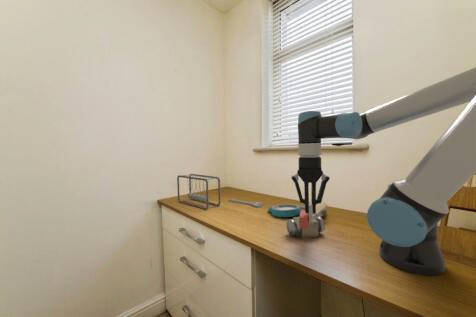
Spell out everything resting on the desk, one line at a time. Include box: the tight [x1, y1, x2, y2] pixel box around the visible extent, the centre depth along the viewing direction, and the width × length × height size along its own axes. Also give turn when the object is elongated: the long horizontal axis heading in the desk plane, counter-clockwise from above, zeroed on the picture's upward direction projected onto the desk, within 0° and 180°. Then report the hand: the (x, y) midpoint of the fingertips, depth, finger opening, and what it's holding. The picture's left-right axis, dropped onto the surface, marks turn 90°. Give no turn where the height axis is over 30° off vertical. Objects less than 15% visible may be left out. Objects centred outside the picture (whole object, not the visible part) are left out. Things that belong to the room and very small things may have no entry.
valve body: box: [285, 216, 326, 240], centre depth 82 cm, size 13×7×7 cm, turn 103°
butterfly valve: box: [267, 201, 328, 218], centre depth 104 cm, size 27×7×30 cm
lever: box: [298, 205, 309, 229], centre depth 77 cm, size 14×4×4 cm, turn 159°
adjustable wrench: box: [228, 198, 264, 208], centre depth 129 cm, size 25×6×2 cm, turn 50°
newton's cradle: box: [176, 173, 221, 210], centre depth 128 cm, size 30×10×18 cm, turn 49°
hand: (310, 222), depth 73 cm, fingers closed
